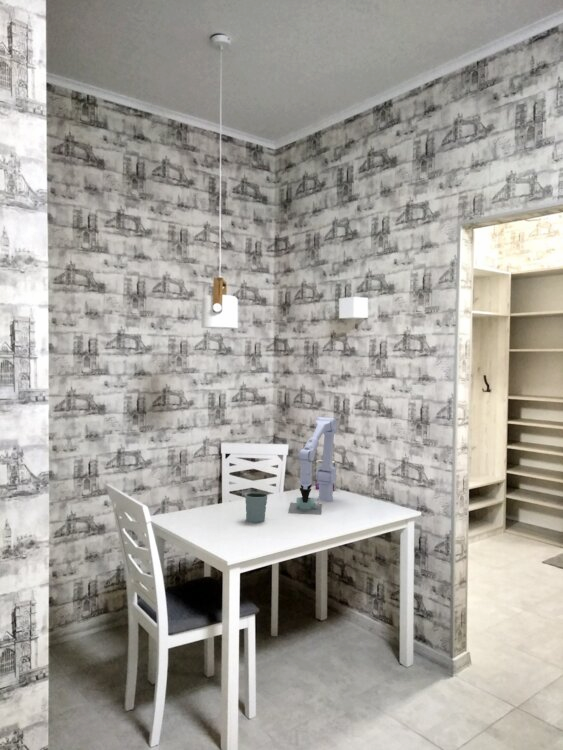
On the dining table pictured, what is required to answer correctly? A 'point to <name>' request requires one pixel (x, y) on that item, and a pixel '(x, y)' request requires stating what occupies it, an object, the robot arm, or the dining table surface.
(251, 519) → the teal cup
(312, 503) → the teal plug
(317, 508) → the charcoal mat
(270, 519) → the dining table surface
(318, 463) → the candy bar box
